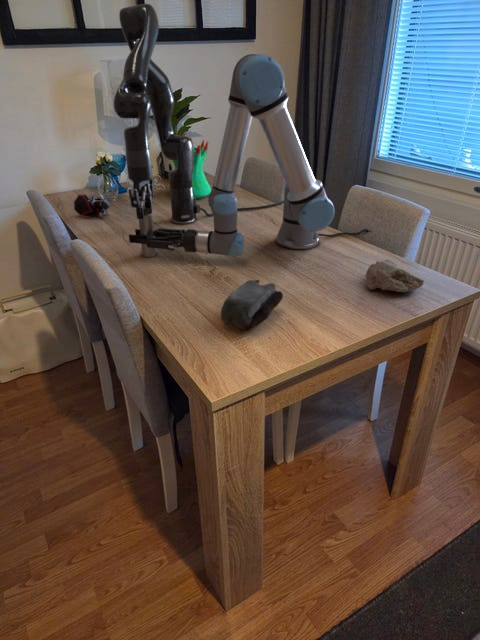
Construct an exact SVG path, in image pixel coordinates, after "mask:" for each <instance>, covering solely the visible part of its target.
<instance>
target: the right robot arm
mask: <svg viewBox="0 0 480 640" xmlns="http://www.w3.org/2000/svg"><path fill="white" fill-rule="evenodd" d="M233 68H234V69H233V72H232V77H231V83H230V89H229V95H228V99H227V101H228V103H229V105H230V106H229V109H228V114H227V118H226V124H225V128H224V132H223V137H222V141H221V142H222V143H221V147H220V151H219V156H218V159H217V160H218V161H217V164H216V169H215V174H214V179H213V183H212V186H211V192H210V194H209V195H208V197H207V199H208V200H207V203H208V206H209V209H210V210H211V214H213V216H212V217H213V230H206V229H199V230H198V229H190V228H188V229H175V228H164V227H163V228H162V227H161V228H160V227H159V228H157V229H153V230H154V237H148V235H146V236H143V235H140V228H135V229H134V234H128V242H129V243H130V244H140V245H142V244H146V245H147V247H148V248H155V249H158V250H159V249H160V250H168V251H172V252H173V251H175V248H183V249H184V251H185V252H187V253H199V254H205V255H208V254H210V255H221V256H227V257H240V256H241V255H242V254H243V252H244V248H245V236H244V233H241V232H238V210H237V209H238V200H237V199H238V198H237V196H235V191H236V190H235V189H236V185H237V181H238V177H239V174H240V168H241V165H242V162H243V157H244V153H245V149H246V146H247V141H248V137H249V135H250V133H249V132H250V129H251V125H252V121H253V118H254V119H257V120H258V121H259V124H260V126H261V129H262V131H263V133H264V135H265V137H266V140H267V142H268V144H269V147H270V150H271V151H272V154H273V156H274V159H275V161H276V163H277V165H278V168H279V170H280V172H281V174H282V177H283V180H284V181H285V183H284V188H283V191H284V192H283V201H284V203H283V209H282V210H283V211H282V222H281V224H280V227H279V230H278V233H277V236H276V243H277V244H278V245H279V246H281V247H283V248H286V249H289V250H309V249H313V248H315V247H316V246H318V244H319V237H327V238H328V237H330V238H332V237H336V236H340V235H349V236H350V235H351V236H356V235H360V234H362V233H363V232H365V231H366V232H368V233H369V232H370V230H369V229H368V228H363V229H361V230H360V231H358V232H336V233H333V234H325V233H318V232H321V231H323V230H325V229H327V228H328V227H329V226H330V224H331V223H332V221H333V220H334V217H335V213H336V210H335V206H334V204H333V202H332V201H331V200H330V199H329V198H328V196H327V194H326V193H327V192H326V190H325V188H324V185H323V183H322V181H321V180H319V179H317V178H315V176H314V174H313V171H312V168H311V166H310V164H309V161H308V159H307V156H306V153H305V151H304V148H303V145H302V143H301V140H300V139H299V135H298V133H297V130H296V128H295V125H294V123H293V120H292V117H291V114H290V112H289V110H288V107H287V103H288V100H289V95H288V92H287V88H286V86H285V74H284V71H283V68H282V67H281V65H280V64H279V62H277V61H276V60H275V59H274V58H273V57H272V56H270V55H268V54H263V53H257V54H256V53H250V54H246V55H244V56H242V57H241V58H240V59H239V60H238V61H237V62H236V63H235V66H234V67H233Z"/></svg>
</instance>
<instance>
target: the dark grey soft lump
mask: <svg viewBox="0 0 480 640" xmlns="http://www.w3.org/2000/svg"><path fill="white" fill-rule="evenodd" d="M283 297H284V294H283V292H282V291H281V290H280V291H278V290H277V288H276V285H275V283H272V282H271V283H267V284H264V285H263V284H260V280H259V279H255V280H254V279H253V280H252V279H248V280H247V281H246V282H244V283H243V284H241V285H240V286H238V287H237V288H235V290H233V291H232V292H231V293H230V294H229V295H228V296H227V298H226V299H225V301H224V303H223V305H222V307H221V312H220V319H221V320H222V321H223V322H224V323H226V324H231V323H233V324H234V326H235V327H237V328H238V329H240V330H245V331H246V332H249V331H251V330H252V329H253V328H255V327H256V326H258V325H260V324H262V323H263V322H264V321H265V320H267V319H268V317H270V315H271V313H272V311H273V310H274V309H275V308H276V307H278V305H279V304H281V301H282V300H283Z"/></svg>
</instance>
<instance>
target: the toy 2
mask: <svg viewBox="0 0 480 640" xmlns="http://www.w3.org/2000/svg"><path fill="white" fill-rule="evenodd" d="M189 138H190V139H191V141H192V144H193V152H194V157H193V166H194V168H193V174H192V181H193V196H194V197H195V200H196V199H202V198H205V197H207V196H209V194H210V192H211V191H212V186H210V184H209V182H208V180H207V177H206V175H205V172H204V169H203V166H204V163H205V159H206V157H207V153H208V147H209V141H206V143H205V141H204V139H202V142H201V143H200V144H198V145H197V147H196V149H195V146H194V142H193V141H194V140H193V138H192V137H189ZM172 163H173V165H174V169H176V168H177V161H174V160H172ZM168 192H169V194H170V188H169V189H168Z"/></svg>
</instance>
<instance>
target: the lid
mask: <svg viewBox="0 0 480 640" xmlns="http://www.w3.org/2000/svg"><path fill="white" fill-rule="evenodd" d="M143 211H144V215H148V214H151V213H152V214H153V205H152V206H151V205H146V204H145V203H144V204H143Z"/></svg>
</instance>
